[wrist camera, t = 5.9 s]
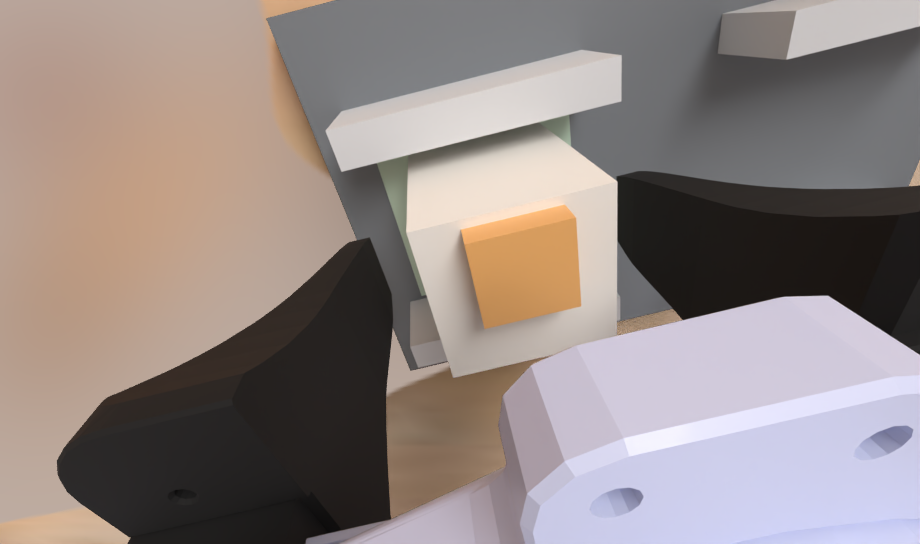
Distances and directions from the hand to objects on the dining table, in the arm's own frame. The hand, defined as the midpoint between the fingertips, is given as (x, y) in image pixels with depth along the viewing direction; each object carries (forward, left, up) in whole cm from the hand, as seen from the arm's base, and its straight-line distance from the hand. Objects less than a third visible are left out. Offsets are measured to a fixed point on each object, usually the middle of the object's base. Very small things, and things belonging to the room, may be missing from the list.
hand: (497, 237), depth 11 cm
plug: (0, 0, -2) cm, 2 cm away
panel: (0, -6, -3) cm, 6 cm away
